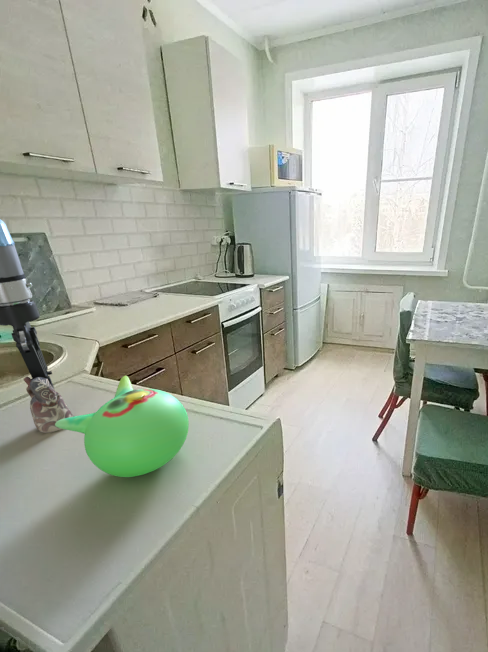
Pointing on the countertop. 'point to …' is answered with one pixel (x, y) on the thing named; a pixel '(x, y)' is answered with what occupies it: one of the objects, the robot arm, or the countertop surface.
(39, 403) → the figurine
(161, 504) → the countertop surface
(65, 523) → the countertop surface
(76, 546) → the countertop surface
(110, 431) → the toy bird
